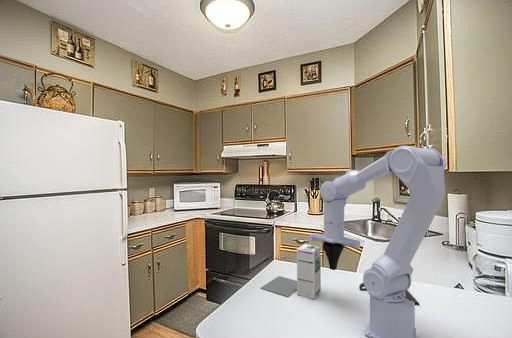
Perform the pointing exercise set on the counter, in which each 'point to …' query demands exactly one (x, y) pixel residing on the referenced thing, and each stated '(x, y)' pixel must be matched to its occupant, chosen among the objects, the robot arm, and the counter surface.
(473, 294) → the counter surface
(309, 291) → the syrup box
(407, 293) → the bracket
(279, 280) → the mat
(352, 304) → the counter surface
